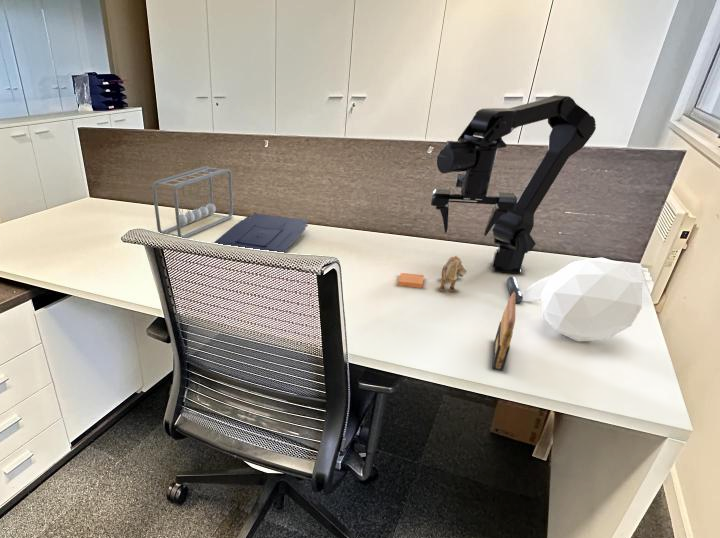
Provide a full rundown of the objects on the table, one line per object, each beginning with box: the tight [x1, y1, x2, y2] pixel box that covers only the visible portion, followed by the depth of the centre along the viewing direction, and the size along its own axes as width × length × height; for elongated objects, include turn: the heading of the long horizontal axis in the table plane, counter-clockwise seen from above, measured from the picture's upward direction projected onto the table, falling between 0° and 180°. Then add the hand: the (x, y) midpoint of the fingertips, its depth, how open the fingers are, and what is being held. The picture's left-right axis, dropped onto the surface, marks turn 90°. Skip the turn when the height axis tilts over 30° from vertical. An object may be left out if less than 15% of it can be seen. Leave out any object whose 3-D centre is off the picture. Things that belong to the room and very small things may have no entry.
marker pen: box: [506, 276, 523, 304], centre depth 120 cm, size 2×13×2 cm
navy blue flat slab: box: [213, 212, 309, 253], centre depth 158 cm, size 24×30×4 cm
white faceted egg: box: [521, 257, 643, 342], centre depth 104 cm, size 16×22×28 cm
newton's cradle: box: [151, 165, 234, 239], centre depth 170 cm, size 30×10×18 cm, turn 144°
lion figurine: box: [438, 255, 468, 292], centre depth 123 cm, size 15×5×9 cm, turn 163°
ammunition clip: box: [491, 293, 516, 371], centre depth 94 cm, size 11×2×12 cm, turn 155°
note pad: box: [397, 272, 425, 289], centre depth 128 cm, size 6×6×1 cm
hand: (465, 233), depth 123 cm, fingers open, 9 cm apart
